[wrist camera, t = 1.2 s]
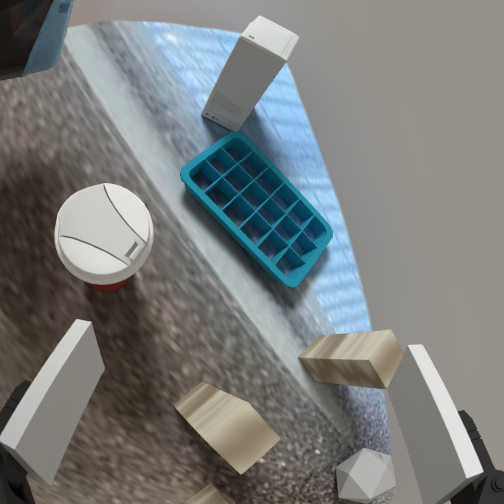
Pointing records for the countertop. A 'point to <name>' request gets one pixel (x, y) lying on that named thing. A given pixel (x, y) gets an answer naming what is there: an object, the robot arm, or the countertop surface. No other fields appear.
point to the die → (365, 476)
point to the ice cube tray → (279, 186)
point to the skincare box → (249, 72)
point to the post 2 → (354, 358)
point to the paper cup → (103, 235)
